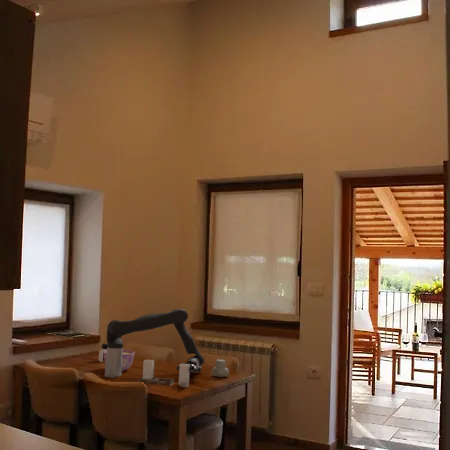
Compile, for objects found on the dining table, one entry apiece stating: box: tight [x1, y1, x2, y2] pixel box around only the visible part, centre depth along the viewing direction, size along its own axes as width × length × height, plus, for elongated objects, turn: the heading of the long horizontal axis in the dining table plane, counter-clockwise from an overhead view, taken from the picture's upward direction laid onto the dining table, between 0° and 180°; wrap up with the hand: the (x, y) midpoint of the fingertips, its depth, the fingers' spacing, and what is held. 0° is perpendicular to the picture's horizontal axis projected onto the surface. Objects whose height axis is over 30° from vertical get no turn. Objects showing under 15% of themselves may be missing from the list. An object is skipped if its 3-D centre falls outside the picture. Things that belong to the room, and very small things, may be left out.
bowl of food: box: [103, 349, 136, 372], centre depth 350 cm, size 20×20×12 cm
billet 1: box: [142, 359, 155, 381], centre depth 316 cm, size 5×5×12 cm
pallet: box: [138, 376, 176, 386], centre depth 315 cm, size 20×11×3 cm, turn 84°
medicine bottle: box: [98, 343, 108, 363], centre depth 378 cm, size 7×7×12 cm
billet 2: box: [178, 363, 190, 388], centre depth 314 cm, size 5×5×12 cm
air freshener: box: [211, 359, 230, 378], centre depth 346 cm, size 11×8×10 cm
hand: (187, 370), depth 324 cm, fingers open, 8 cm apart
